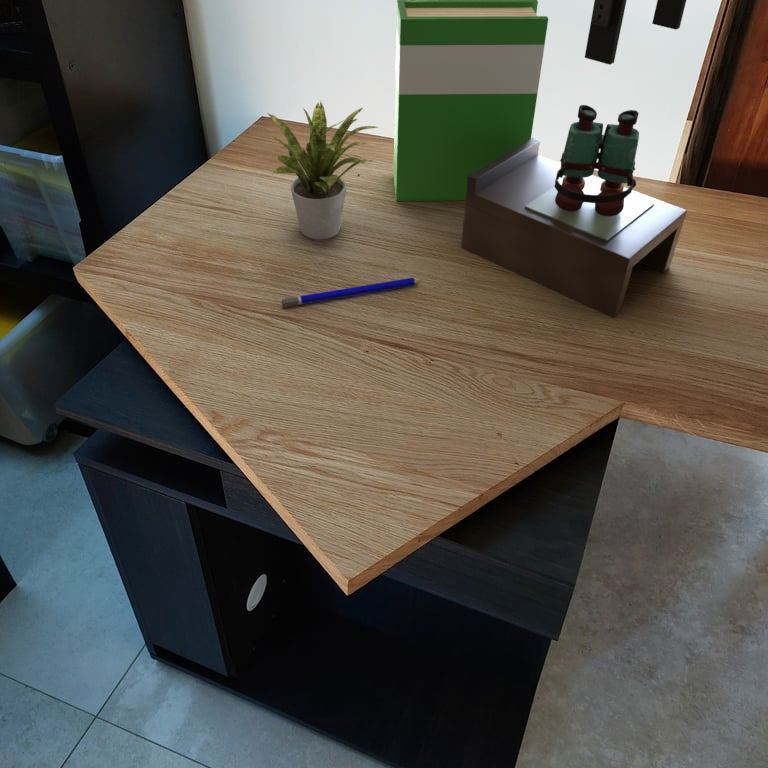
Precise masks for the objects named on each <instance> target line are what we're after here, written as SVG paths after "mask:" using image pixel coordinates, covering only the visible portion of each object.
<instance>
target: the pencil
mask: <svg viewBox="0 0 768 768" xmlns="http://www.w3.org/2000/svg"><path fill="white" fill-rule="evenodd" d="M421 281H422V279H419V278H416V277H407V278H400V279H394V280H390V281H383V282H376V283H371V284H364V285H358V286H353V287H346V288H341V289H334V290H327V291H322V292H316V293H310V294H304V295H297V296H291V297H285V298H282V299H281V305H282V307H284V308H287V307H291V306H298V305H303V304H309V303H315V302H322V301H327V300H335V299H340V298H347V297H353V296H358V295H363V294H369V293H376V292H382V291H388V290H393V289H401V288H406V287H412V286H415V285H416V284H418V283H419V282H421Z"/></svg>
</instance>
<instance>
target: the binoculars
mask: <svg viewBox="0 0 768 768" xmlns="http://www.w3.org/2000/svg"><path fill="white" fill-rule="evenodd" d="M639 113H640V112H639V111H638V110H635V109H629V110H625V111H622V112H621V113H619V114H618V116H617V122H618V124H613V123H608V124H606V127H605V130H604V123H603V122H597V121H596V122H595V120H596V119H597V116H598V113H597V111H596V109H594V108H593V107H592V106H589V105H587V104H580V105H579V107H578V112H577V118H578V121H575V122H572V123H571V124H570V126H569V129H568V134H567V137H566V141H565V144H564V145H565V146H564V149H563V152H562V154H561V157H560V159H559V162H560V163H561V168H560V169H559V170H558V172H557V174H556V180H555V186H554V187H555V188H556V190H557V191H558V192H557V195H556V198H555V202H556V204H557V206H558V207H560V208H561V209H563V210H566V211H577V210H579V209H580V208H581V207H582V204H583V202H588V203H595V210H596V212H597V213H598V214H600V215H603V216H615V215H617V214H619V213H621V212H622V210H623V208H624V198H626V197H627V196H628V195H629V194H630V193H631V192H632V190H633V189H634V188H635V187H636V186H637V180H636V179H634V171H635V170H636V156H637V151H638V146H639V139H640V132H639V131H638V130H637V128H634V126H635V125H636V124H637V122H638V118H639V115H640V114H639ZM603 130H604V134H603ZM595 170H597V177H598V178H601V179H604V181H602V183H601V187H600V191H601V192H600V193H599V194H598V195H589V194H584V192H583V190H582V189H584V186H585V179H584V178H585V177H589V176H591V175H593V176H594V172H595ZM563 176H565V177H564V178H563V182H562V185H560V183H559V182H558V181H557V180H558V179H559V177H560V178H562V177H563ZM625 184H626V186H627V188H628V189H627V190H625V191H623V189H624V187H625Z"/></svg>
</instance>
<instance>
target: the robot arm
mask: <svg viewBox="0 0 768 768" xmlns="http://www.w3.org/2000/svg"><path fill="white" fill-rule="evenodd" d="M686 3H687V0H657V1H656V5H655V9H654V13H653V19H652V22H651V23H652V25H656V26H660V27H663V28H668V29H671V30H678V29H680V27H681V24H682V20H683V17H684V12H685V8H686ZM626 5H627V0H594V2H593V8H592V13H591V20H590V24H589V30H588V34H587V35H588V36H587V40H586V41H587V42H586V47H585V52H584V59H587V60H588V59H589V60H592V61H595V62H598V63H602V64H606V65H612V64H614V63H615V61H616V54H617V49H618V45H619V40H620V35H621V30H622V26H623V20H624V15H625V10H626Z"/></svg>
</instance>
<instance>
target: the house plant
mask: <svg viewBox="0 0 768 768" xmlns="http://www.w3.org/2000/svg"><path fill="white" fill-rule="evenodd" d="M364 108H365V107H364V106H363V107H361V108H358V109H356V110H354V111H353V112H352V113H350V114H349V115H348V116H347V117H346V118H345V119H343V120H341V121H340V122H337V123H335V124H332V125H330V126H329V127H328V121H327V116H326V110H325V107H324V105H323V103H322V101H320V102H317V103H316V105H315V107H314V109H313V113H312V117H310V115H309V113H308V112H307V110H306V109H305V108H304V107H302V109H303V111H304V114H305V116H306V119H307V122H308V123H307V124H308V127H309V130H310V133H309V141H308V142H307V143H306V147H305V148H302V146H301V144H300V143H299V140H298V139H297V137H296V136H295V134H294V132H293V131H292V129H291V128H290V127H289V126H288V125H287V124H286V123H284V122H283V121H282V120H281V119H279V118H278V117H277V116H276V115H273V114H270V113H268V112H267V111H266V114H267V115H268V116H269V117H270V118H271V119H272V120H273V122H275V124H276V125H277V127H278V128H279V129H280V131H281V132H282V134H283V135H284V136H285V138H286V140H287V143H286V142H285V141H284V140H282V139H281V138H280V137H277V136H274V135H271V137H272V138H273V139H274V140H276V141H278V142H279V143H280V144H281V145H282V146H283V147H284V148H285V149H287V150H288V155H289V156H287V155H283V154H282V155H277V156H276V158H277V160H278V161H279V162H281V163H282V164H284V165H280V166H279V167H277V168H276V169H275V170H274V171H273V172H272V174H271V175H272V176H273V175H275V174H277V175H278V174H295V175H296V179H294V180H293V181H292V182H291V184H290V192H291V196H292V200H293V205H294V208H295V212H296V216H297V220H298V225H299V229H300V232H301V234H302V235H304V236H306V237H307V238H309V239H312V240H326V239H330V238H333V237H335V236H337V235H338V234H339V233H340V231H341V227H342V226H341V225H342V219H343V212H344V207H345V206H344V205H345V200H346V193H347V183H346V181H345V180H344V179H343V178H342V177H343V176H344V175H345V174H346V173H347V172H349V171H350V170H351V169H352V168H354V167H355V166H357V165H359V164H364V165H366V162H373V160H371V159H361V158H358V157H353V156H352V157H347V158H344V159H342V160H339V159H340V158H341V157H342V155H344V153H345V152H346V151H348V150H349V149H351V148H352V147H355V146H356V145H367V143H366V142H362V141H355V142H352V143H350V144H349V145H347V146H346V147H345V146H343V145H344V144H345V142H346V141H347V140H349V138H351V137H352V136H354V135H355V134H357V133H359V132H360V131H364V130H367V129H376V128H377V129H378V128H379V126H374V125H373V126H372V125H364V126H359V127H355V128H354V129H353V130H350V131H349V132H348V133H347V134H346V132H347V131H348V130H349V129H350V127H351V125H352V124H353V123H354V122H356V121H357V120H358V118H355V117H356V116H357V115H358V114H359V113H361V111H362V110H363V109H364ZM354 118H355V119H354ZM339 124H341V125H339ZM338 125H339V127H338V128H337V129H336V132H335V133H334V135H333V136H332V138H331V141H330V142H328V141H327V133H328V131H330V130H331V129H333V128H334V127H336V126H338ZM345 134H346V135H345ZM350 163H351V165H350V166H348V167H347V168H346V169H345V170H343V172H342V173H341V174H340V175H337V174H334V173H335V171H336V170H338V169H339V168H340V167H342V166H344V165H346V164H350Z"/></svg>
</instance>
